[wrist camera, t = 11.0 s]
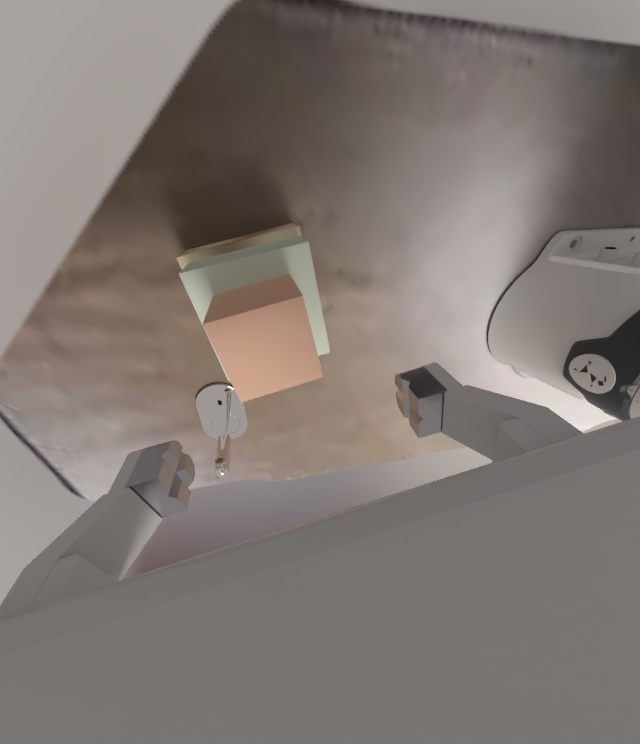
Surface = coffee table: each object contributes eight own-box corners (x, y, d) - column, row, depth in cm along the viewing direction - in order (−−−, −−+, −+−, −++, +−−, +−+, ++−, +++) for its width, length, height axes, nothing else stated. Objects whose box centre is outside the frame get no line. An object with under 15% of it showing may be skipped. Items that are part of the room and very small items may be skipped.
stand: (239, 379, 29) (250, 433, 34) (191, 385, 29) (208, 440, 33) (237, 427, 23) (251, 487, 27) (175, 438, 22) (199, 497, 26)
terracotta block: (289, 273, 18) (302, 295, 13) (307, 341, 20) (323, 377, 16) (213, 295, 17) (202, 324, 13) (242, 361, 20) (240, 402, 16)
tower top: (298, 235, 20) (308, 241, 17) (318, 332, 25) (330, 352, 21) (190, 261, 19) (178, 273, 16) (231, 356, 24) (228, 381, 21)
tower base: (291, 222, 23) (299, 225, 20) (314, 319, 28) (323, 335, 25) (186, 249, 22) (176, 257, 19) (228, 344, 27) (226, 363, 24)
